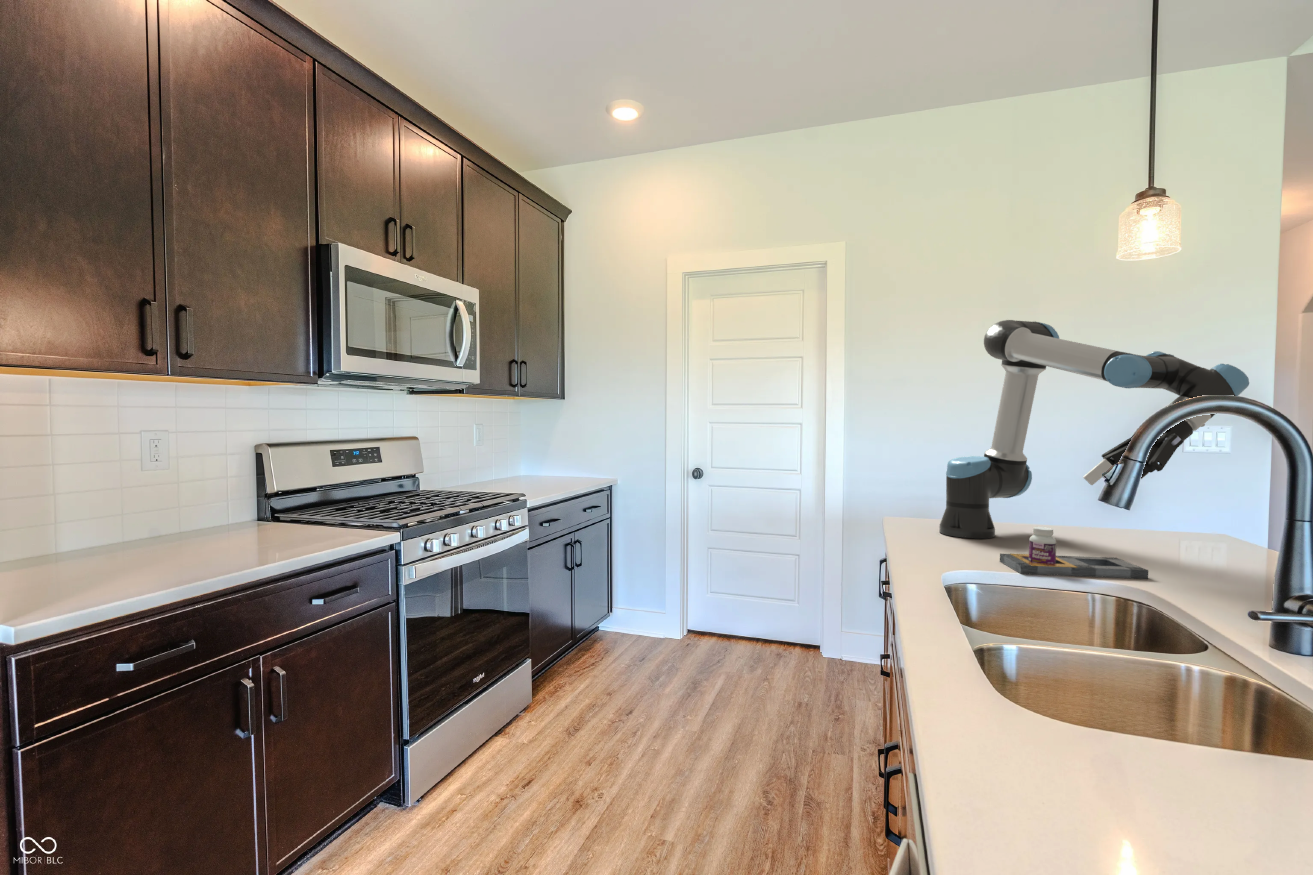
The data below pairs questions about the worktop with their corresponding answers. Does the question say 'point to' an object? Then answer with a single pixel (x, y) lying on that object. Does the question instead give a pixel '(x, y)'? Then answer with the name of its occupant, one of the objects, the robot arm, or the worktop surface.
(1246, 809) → the worktop surface
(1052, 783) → the worktop surface
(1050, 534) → the pill bottle
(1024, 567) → the rail plate
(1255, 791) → the worktop surface
